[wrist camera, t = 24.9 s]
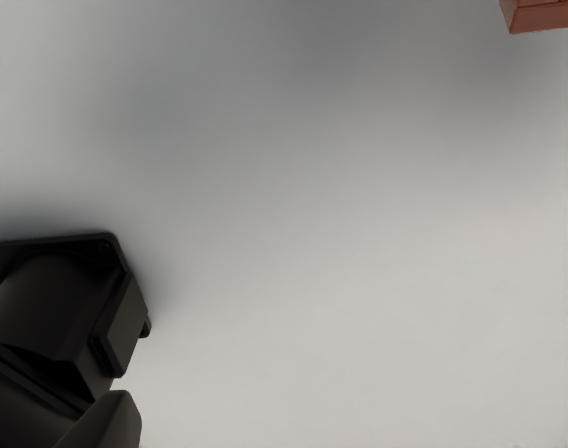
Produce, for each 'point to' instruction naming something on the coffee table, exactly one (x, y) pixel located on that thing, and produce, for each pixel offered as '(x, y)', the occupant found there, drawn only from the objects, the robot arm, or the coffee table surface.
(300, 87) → the coffee table surface
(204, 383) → the coffee table surface
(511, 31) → the orange handled tray
